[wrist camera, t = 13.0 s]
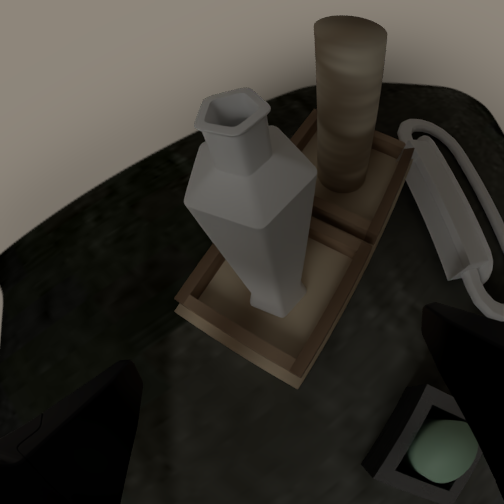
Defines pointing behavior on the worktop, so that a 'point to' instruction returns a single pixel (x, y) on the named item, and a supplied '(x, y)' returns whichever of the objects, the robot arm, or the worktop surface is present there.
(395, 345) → the worktop surface
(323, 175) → the wooden billet
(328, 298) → the divided wooden tray
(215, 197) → the perfume bottle
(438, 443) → the button
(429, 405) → the button housing
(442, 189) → the oval loop handle
